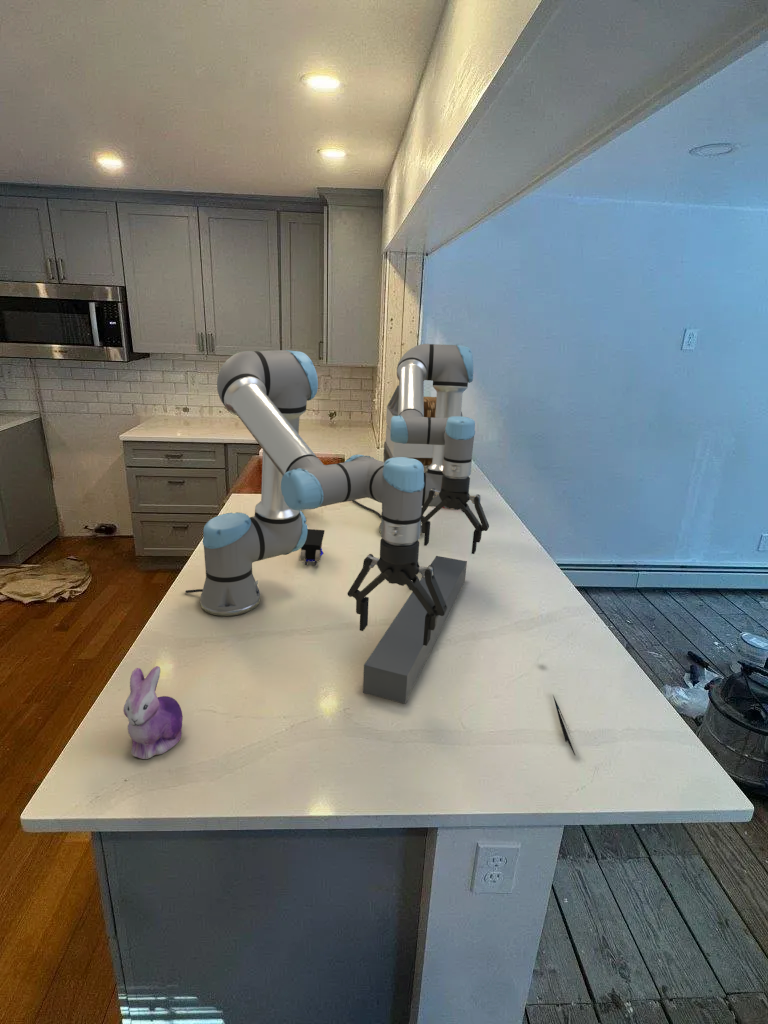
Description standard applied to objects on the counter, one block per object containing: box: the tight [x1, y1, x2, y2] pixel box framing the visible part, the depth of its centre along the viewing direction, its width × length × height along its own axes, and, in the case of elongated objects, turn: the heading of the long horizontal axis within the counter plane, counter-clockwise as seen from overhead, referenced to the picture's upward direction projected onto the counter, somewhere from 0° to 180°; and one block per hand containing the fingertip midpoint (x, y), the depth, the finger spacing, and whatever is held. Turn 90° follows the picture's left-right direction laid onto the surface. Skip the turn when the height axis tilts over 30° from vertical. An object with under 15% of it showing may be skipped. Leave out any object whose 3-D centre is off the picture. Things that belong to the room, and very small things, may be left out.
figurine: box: [122, 665, 183, 760], centre depth 99 cm, size 9×10×15 cm
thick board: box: [362, 555, 468, 705], centre depth 141 cm, size 59×9×7 cm, turn 161°
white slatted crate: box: [383, 384, 463, 467], centre depth 268 cm, size 34×33×41 cm
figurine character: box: [299, 528, 326, 567], centre depth 176 cm, size 7×8×15 cm
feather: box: [552, 695, 579, 756], centre depth 115 cm, size 2×28×2 cm
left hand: (394, 634), depth 116 cm, fingers open, 13 cm apart
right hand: (449, 548), depth 159 cm, fingers open, 13 cm apart
